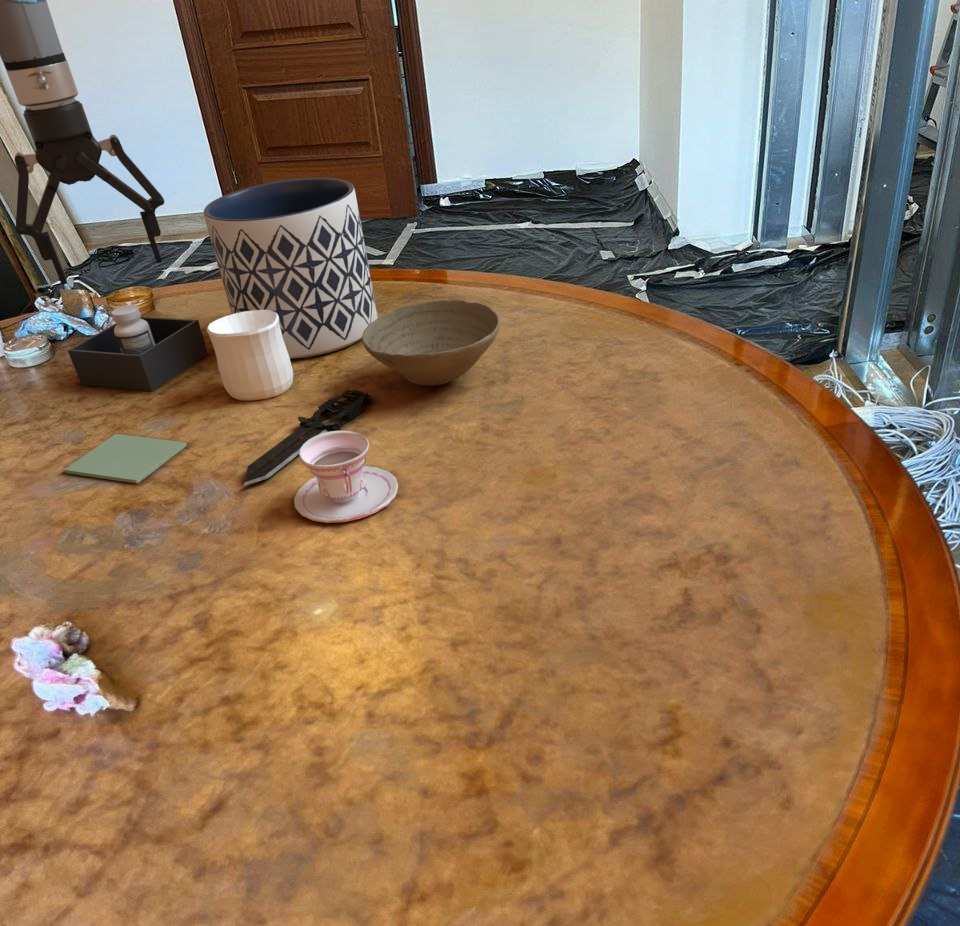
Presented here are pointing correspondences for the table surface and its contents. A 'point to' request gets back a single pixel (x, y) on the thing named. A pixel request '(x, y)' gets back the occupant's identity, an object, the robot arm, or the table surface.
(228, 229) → the planter
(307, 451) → the teacup
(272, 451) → the knife
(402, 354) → the bowl
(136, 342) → the pill bottle
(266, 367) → the cup
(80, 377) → the box
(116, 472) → the mat
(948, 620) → the table surface
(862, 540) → the table surface
